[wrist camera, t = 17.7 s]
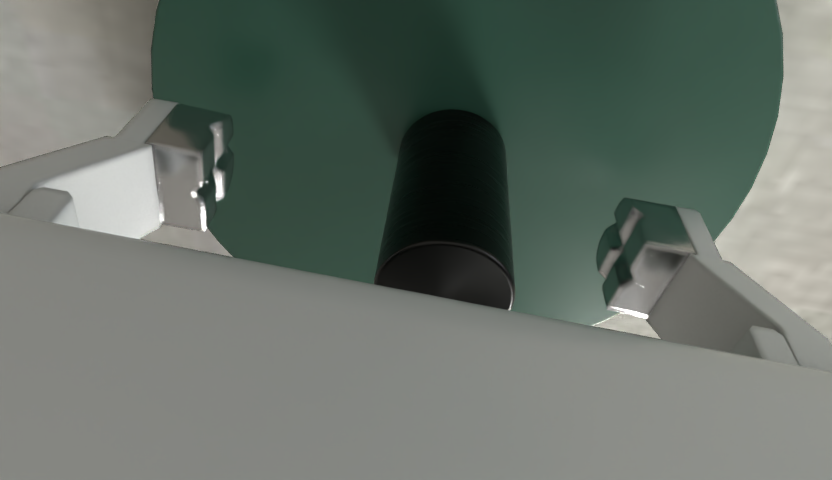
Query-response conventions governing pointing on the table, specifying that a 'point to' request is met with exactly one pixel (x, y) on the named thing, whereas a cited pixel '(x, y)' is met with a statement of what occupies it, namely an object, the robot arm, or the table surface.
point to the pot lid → (472, 131)
